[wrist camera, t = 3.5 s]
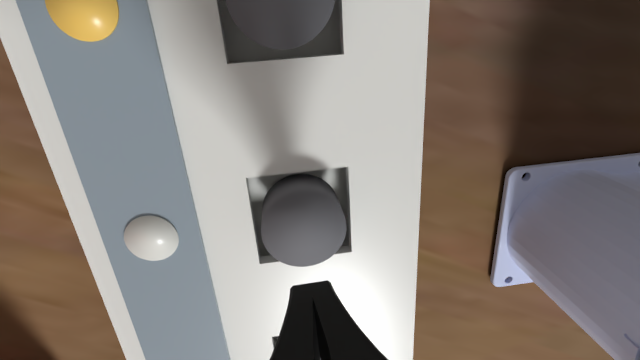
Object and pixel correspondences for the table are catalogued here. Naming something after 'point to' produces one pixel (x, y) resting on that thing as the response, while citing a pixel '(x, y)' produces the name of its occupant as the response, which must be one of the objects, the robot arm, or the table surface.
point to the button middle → (302, 221)
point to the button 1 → (280, 20)
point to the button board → (227, 161)
